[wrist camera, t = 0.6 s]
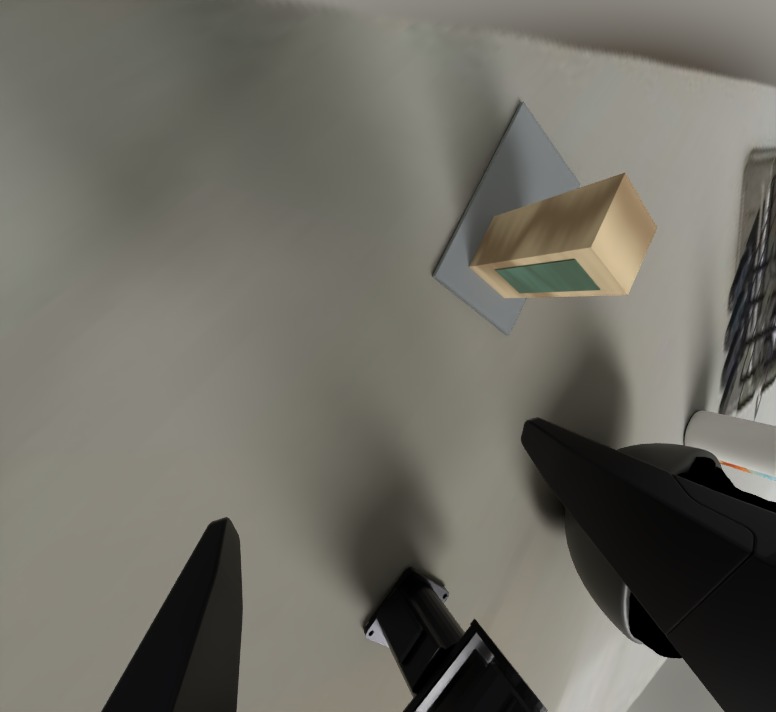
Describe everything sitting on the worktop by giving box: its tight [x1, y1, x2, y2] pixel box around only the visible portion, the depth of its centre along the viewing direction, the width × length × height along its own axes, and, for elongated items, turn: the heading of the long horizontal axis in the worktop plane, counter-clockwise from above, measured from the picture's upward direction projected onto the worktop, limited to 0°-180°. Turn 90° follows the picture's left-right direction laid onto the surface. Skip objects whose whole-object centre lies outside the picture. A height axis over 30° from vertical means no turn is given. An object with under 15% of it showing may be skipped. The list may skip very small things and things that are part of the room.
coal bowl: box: [565, 443, 776, 658], centre depth 32 cm, size 20×20×19 cm
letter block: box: [469, 173, 657, 298], centre depth 23 cm, size 5×5×10 cm
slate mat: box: [433, 102, 580, 335], centre depth 28 cm, size 17×10×1 cm, turn 148°
